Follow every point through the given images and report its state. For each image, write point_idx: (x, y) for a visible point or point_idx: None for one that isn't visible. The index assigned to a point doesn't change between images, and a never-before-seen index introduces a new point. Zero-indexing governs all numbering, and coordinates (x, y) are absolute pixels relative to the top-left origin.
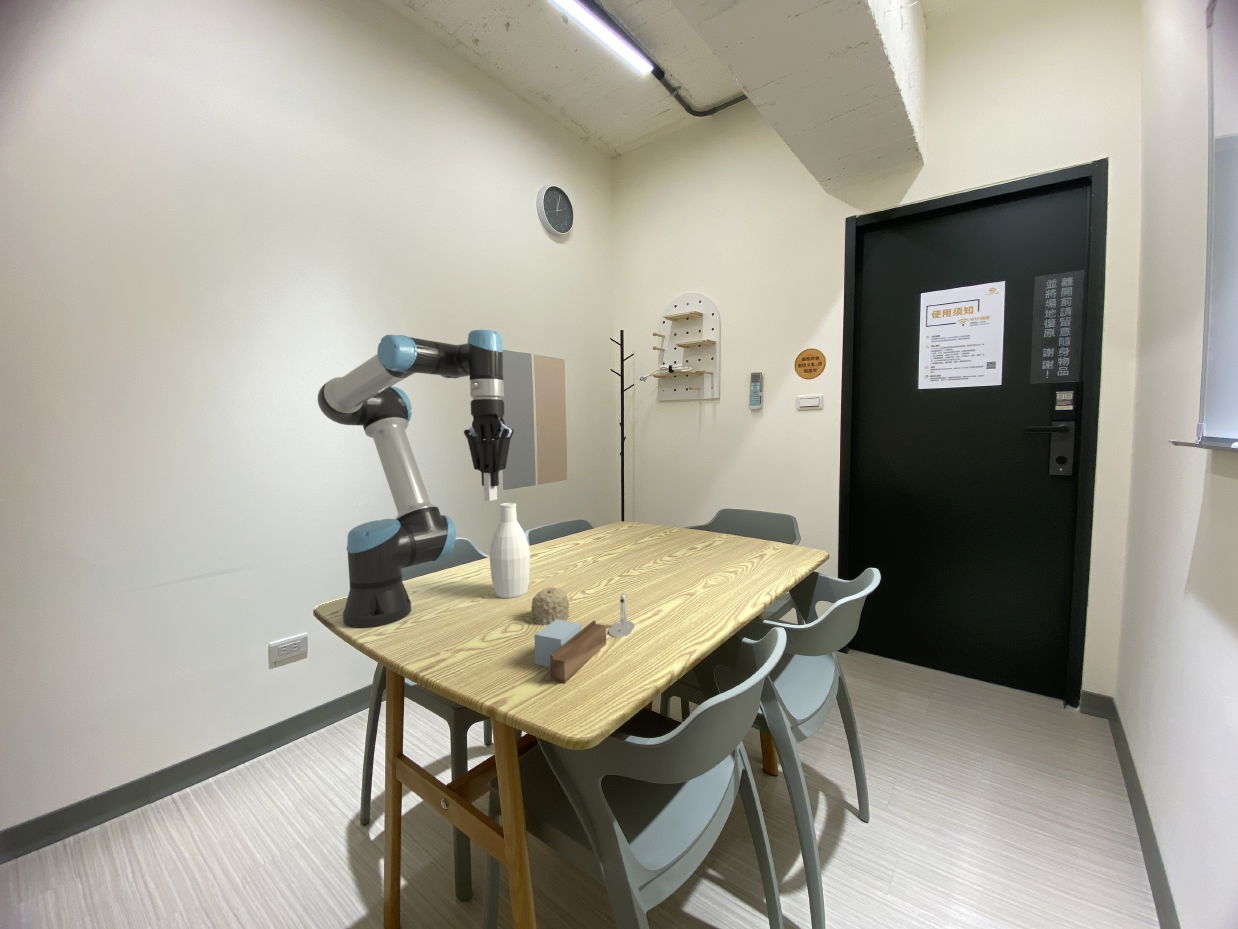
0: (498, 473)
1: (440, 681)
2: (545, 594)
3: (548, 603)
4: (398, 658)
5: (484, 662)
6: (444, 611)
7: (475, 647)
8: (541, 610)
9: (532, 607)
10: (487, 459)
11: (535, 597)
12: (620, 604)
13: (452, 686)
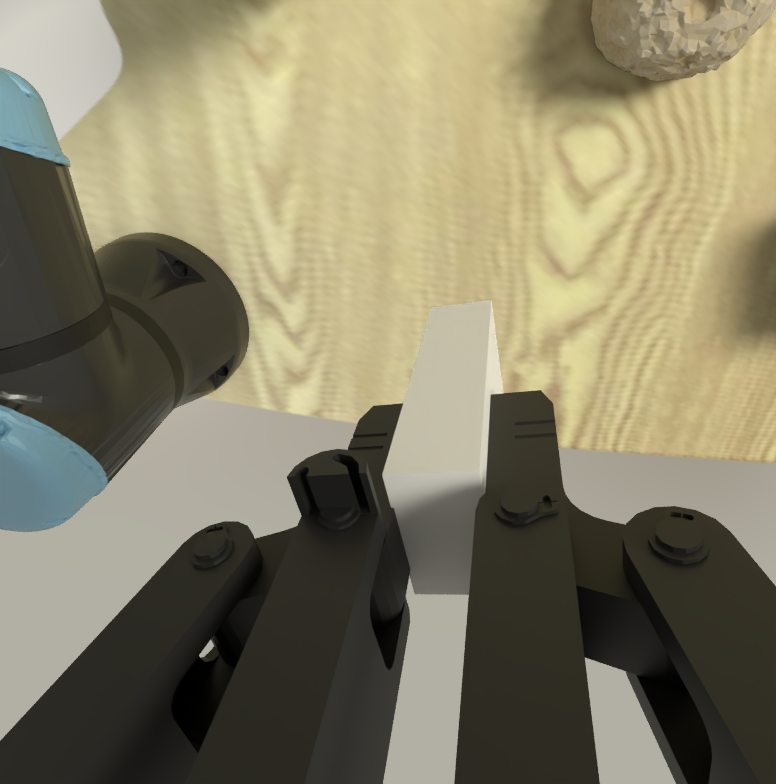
0: (562, 489)
1: (627, 447)
2: (701, 27)
3: (730, 54)
4: None
5: (663, 356)
6: (276, 192)
7: (578, 314)
8: (690, 75)
9: (629, 69)
10: (358, 724)
11: (643, 51)
12: None
13: (668, 449)
